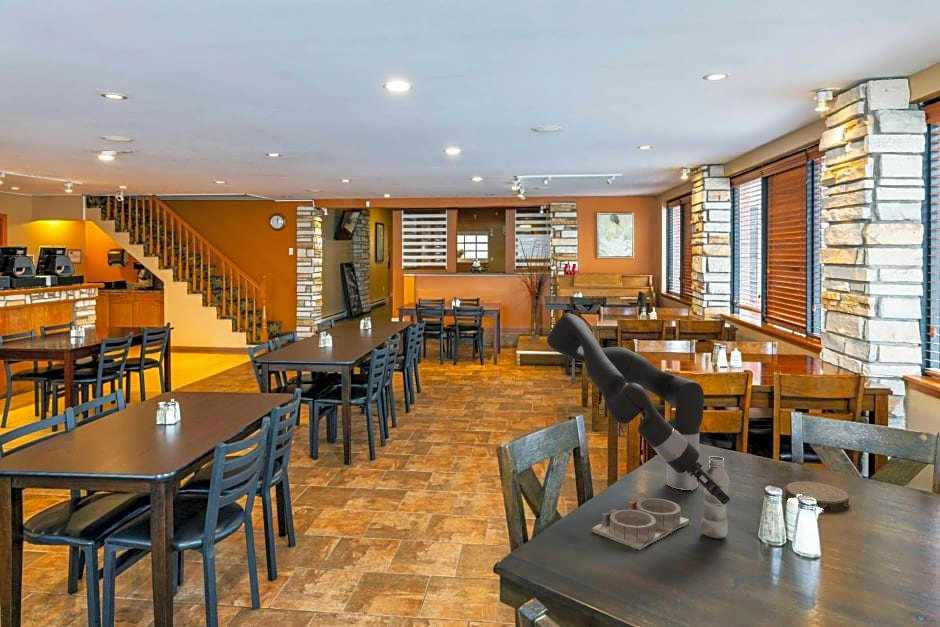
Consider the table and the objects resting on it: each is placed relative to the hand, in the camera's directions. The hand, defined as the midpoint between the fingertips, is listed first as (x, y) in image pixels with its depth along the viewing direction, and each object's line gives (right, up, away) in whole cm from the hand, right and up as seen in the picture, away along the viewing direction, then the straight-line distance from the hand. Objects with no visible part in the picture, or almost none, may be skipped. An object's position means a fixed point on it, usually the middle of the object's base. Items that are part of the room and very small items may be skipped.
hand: (722, 496), depth 160 cm
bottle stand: (-19, -10, +6) cm, 22 cm away
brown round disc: (+37, -9, +24) cm, 45 cm away
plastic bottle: (-2, -11, +1) cm, 11 cm away
